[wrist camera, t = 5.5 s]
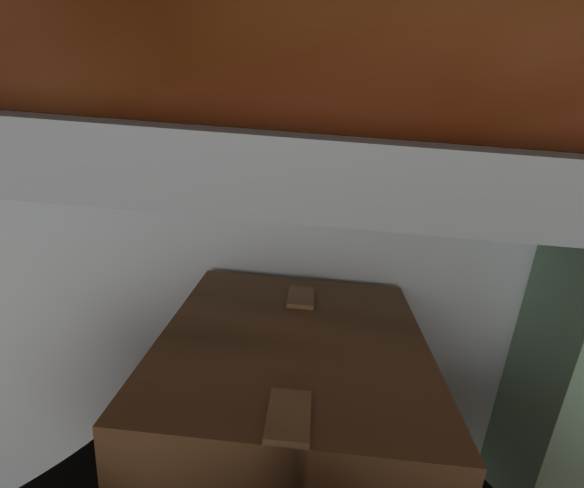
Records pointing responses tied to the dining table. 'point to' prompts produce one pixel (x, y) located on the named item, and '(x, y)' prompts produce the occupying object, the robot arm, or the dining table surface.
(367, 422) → the cardboard box
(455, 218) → the bay
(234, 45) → the dining table surface
